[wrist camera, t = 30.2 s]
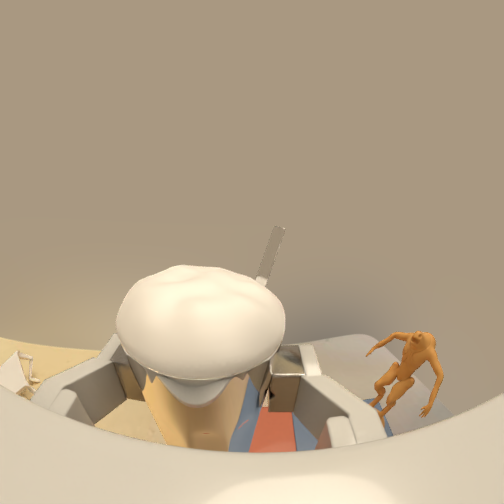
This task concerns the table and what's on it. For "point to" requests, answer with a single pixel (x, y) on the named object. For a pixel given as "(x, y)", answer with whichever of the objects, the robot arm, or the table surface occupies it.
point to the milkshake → (204, 350)
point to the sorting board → (288, 432)
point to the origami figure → (16, 374)
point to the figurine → (408, 369)
